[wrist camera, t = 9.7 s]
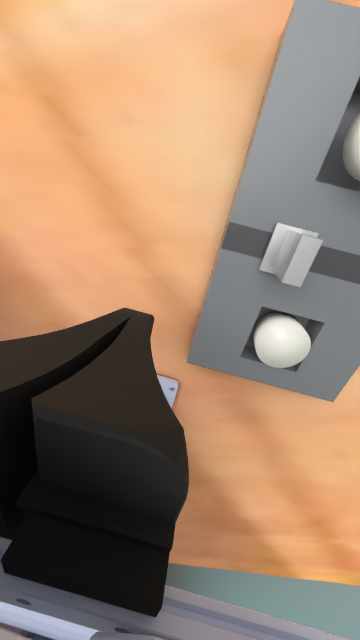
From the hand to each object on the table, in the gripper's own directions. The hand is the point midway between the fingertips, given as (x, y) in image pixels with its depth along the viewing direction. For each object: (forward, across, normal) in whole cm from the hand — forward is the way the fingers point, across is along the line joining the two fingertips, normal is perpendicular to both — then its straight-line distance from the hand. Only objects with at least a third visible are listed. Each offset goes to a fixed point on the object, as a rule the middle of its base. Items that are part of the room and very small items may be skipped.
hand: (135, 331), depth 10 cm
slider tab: (+7, -7, -4) cm, 10 cm away
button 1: (+8, -9, +2) cm, 12 cm away
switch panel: (+9, -9, -4) cm, 14 cm away
